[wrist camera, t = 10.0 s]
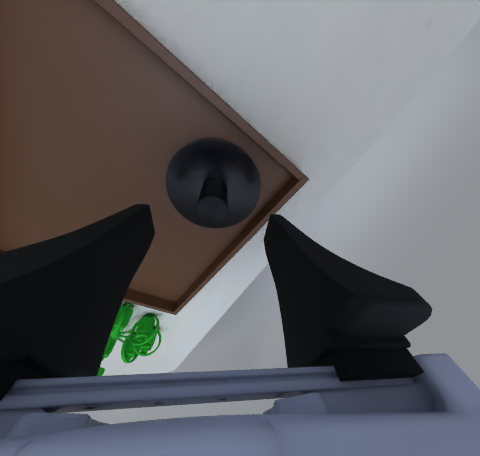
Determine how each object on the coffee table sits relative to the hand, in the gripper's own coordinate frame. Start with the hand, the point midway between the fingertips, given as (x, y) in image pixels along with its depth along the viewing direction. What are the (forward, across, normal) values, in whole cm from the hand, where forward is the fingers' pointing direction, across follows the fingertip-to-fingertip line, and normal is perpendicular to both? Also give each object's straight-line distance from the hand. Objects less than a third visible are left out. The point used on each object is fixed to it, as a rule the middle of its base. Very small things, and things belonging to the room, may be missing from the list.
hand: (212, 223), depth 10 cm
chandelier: (+7, +15, +26) cm, 30 cm away
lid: (+6, 0, 0) cm, 6 cm away
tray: (+6, +8, +4) cm, 11 cm away
